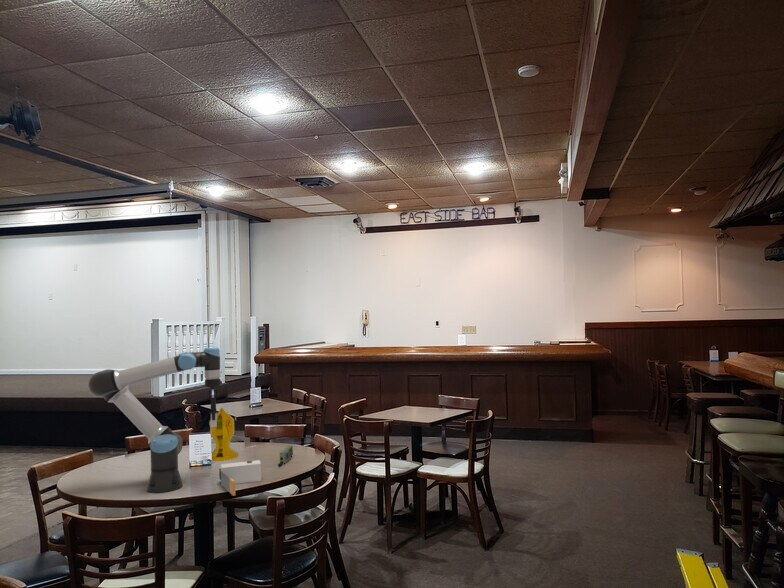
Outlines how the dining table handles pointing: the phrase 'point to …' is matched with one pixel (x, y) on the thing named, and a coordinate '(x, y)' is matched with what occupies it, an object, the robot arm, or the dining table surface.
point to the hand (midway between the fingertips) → (213, 426)
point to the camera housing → (243, 471)
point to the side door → (228, 482)
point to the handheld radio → (285, 454)
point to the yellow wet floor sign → (223, 437)
